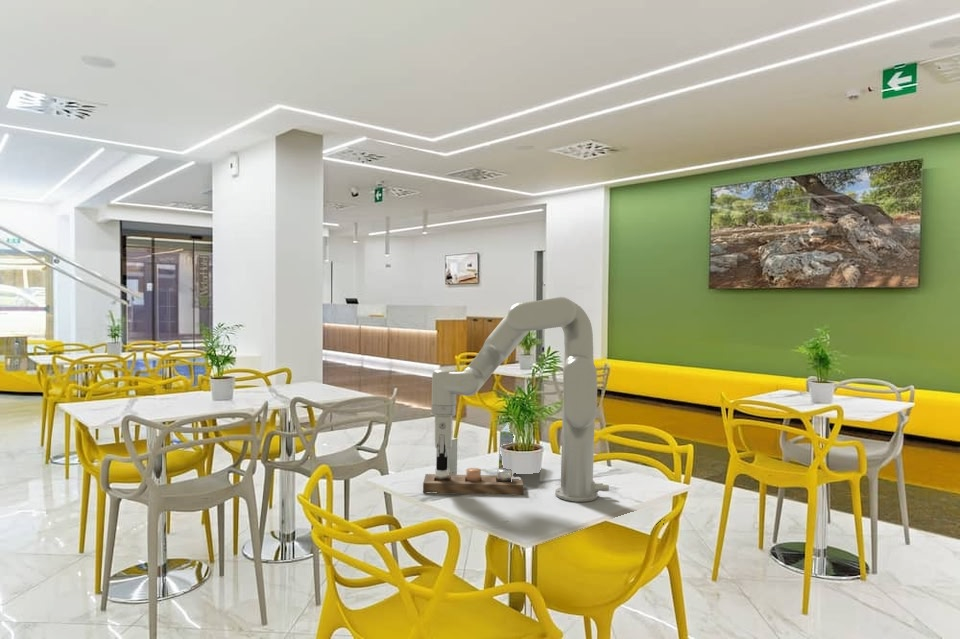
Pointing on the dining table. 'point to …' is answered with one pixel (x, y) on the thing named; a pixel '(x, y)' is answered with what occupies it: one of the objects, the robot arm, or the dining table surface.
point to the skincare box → (451, 457)
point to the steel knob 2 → (504, 475)
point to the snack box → (504, 441)
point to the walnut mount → (472, 485)
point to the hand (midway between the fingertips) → (441, 469)
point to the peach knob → (473, 475)
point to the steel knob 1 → (442, 475)
